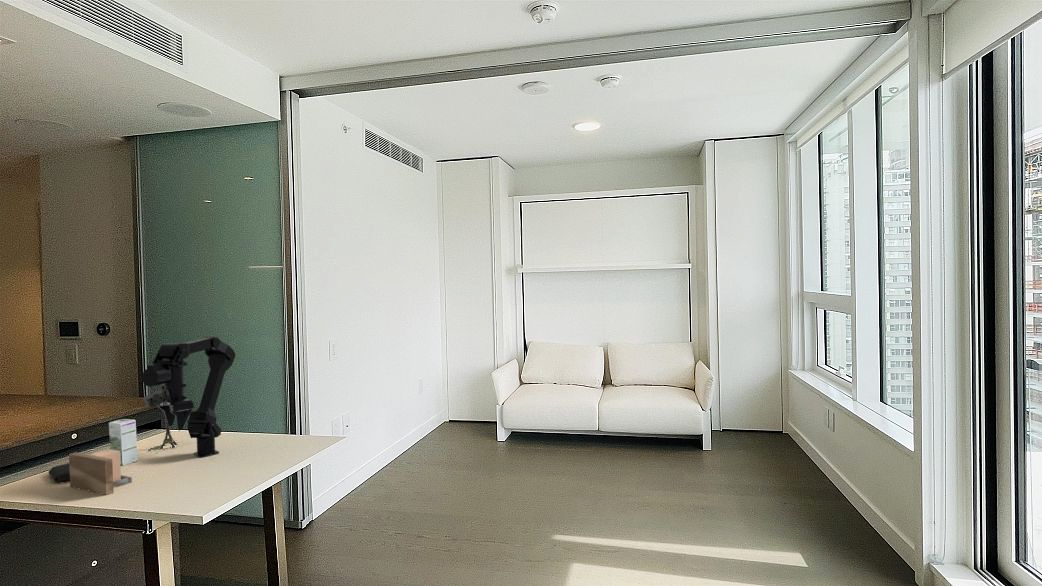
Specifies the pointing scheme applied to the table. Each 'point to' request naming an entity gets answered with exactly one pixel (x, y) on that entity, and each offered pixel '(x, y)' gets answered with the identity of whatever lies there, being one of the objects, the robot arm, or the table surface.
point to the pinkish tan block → (115, 461)
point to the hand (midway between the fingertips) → (175, 428)
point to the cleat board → (93, 473)
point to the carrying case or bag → (60, 473)
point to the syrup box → (124, 440)
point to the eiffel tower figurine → (165, 441)
